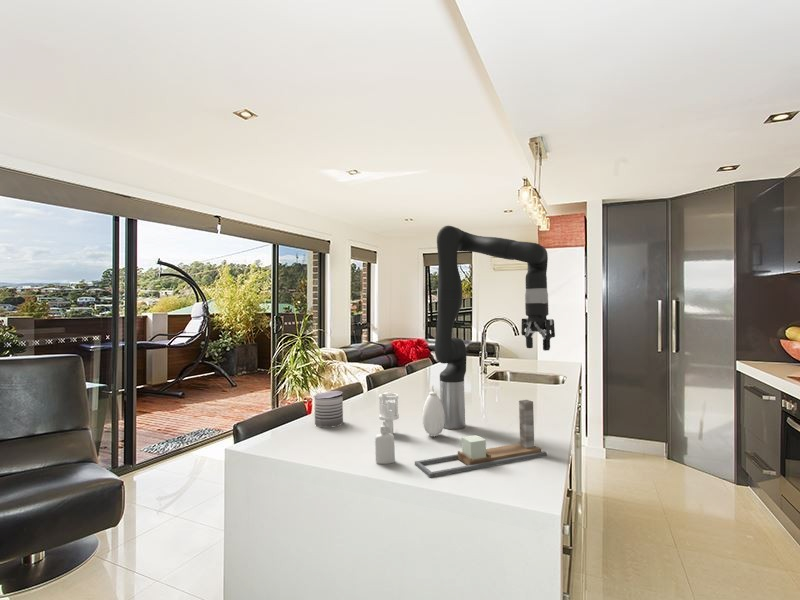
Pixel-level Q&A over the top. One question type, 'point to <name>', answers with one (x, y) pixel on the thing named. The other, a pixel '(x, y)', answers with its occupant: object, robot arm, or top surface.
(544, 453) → the track
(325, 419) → the can
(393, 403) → the white tall plastic piece
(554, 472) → the top surface
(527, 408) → the wooden board with post
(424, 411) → the sauce bottle
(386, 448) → the eye dropper bottle
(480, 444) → the block
